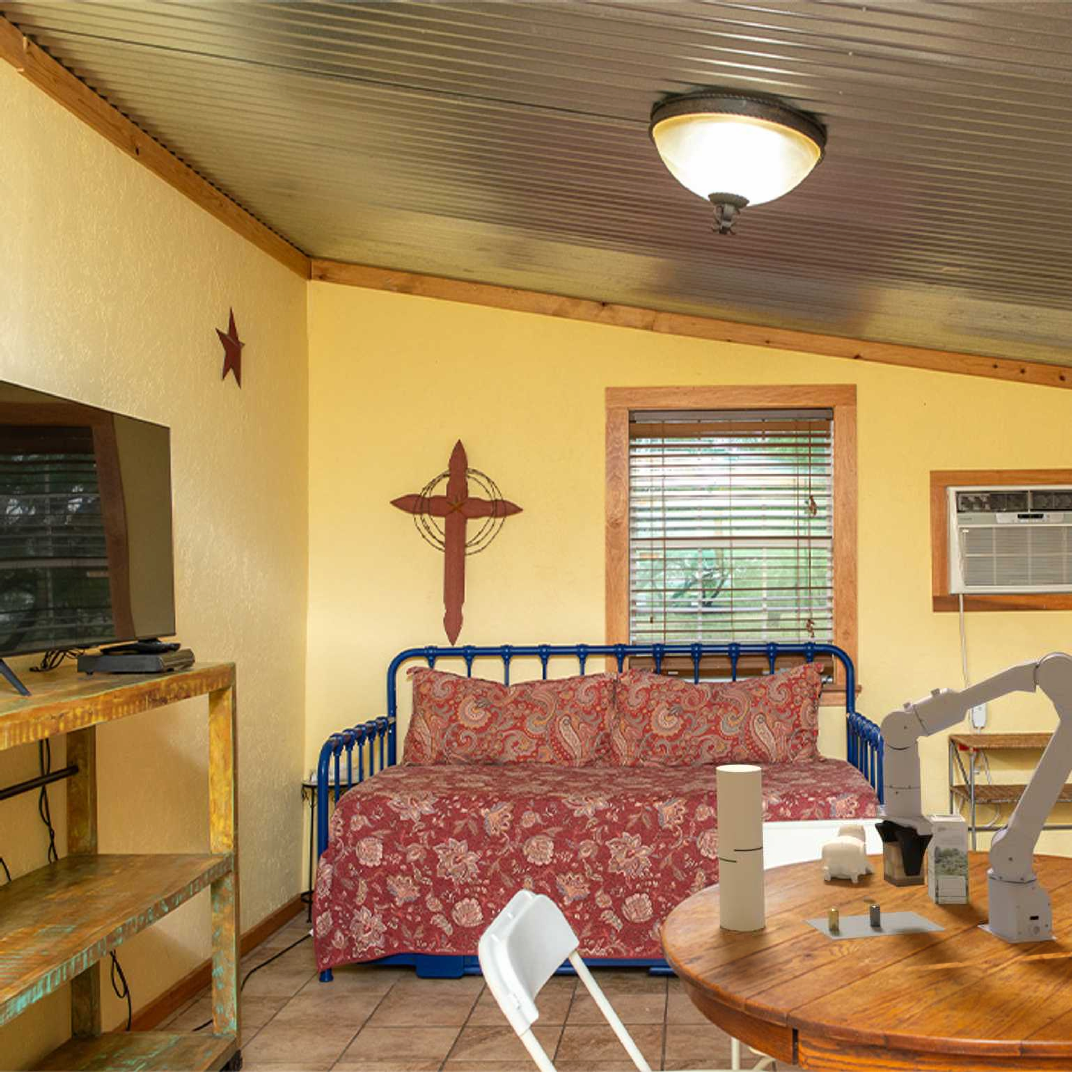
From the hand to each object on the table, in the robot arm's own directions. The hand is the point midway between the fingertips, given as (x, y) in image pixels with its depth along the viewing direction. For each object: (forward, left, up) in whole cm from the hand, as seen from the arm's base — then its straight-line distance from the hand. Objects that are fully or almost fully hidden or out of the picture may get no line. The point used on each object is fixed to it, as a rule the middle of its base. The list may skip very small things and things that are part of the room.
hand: (904, 871), depth 196 cm
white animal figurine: (+33, -6, -9) cm, 34 cm away
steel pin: (-1, +6, -8) cm, 10 cm away
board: (-1, +6, -8) cm, 10 cm away
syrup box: (+10, -13, -9) cm, 19 cm away
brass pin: (-1, +13, -8) cm, 15 cm away
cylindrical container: (+7, +25, -9) cm, 27 cm away
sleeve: (0, 0, -2) cm, 2 cm away
